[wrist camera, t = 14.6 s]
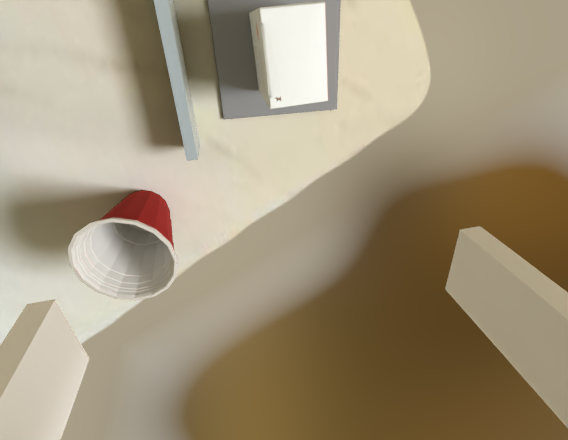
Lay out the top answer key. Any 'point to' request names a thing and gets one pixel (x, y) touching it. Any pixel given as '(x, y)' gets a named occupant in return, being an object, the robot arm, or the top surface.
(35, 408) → the robot arm
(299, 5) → the small box
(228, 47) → the mat
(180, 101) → the low wall
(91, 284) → the plastic cup
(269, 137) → the top surface
